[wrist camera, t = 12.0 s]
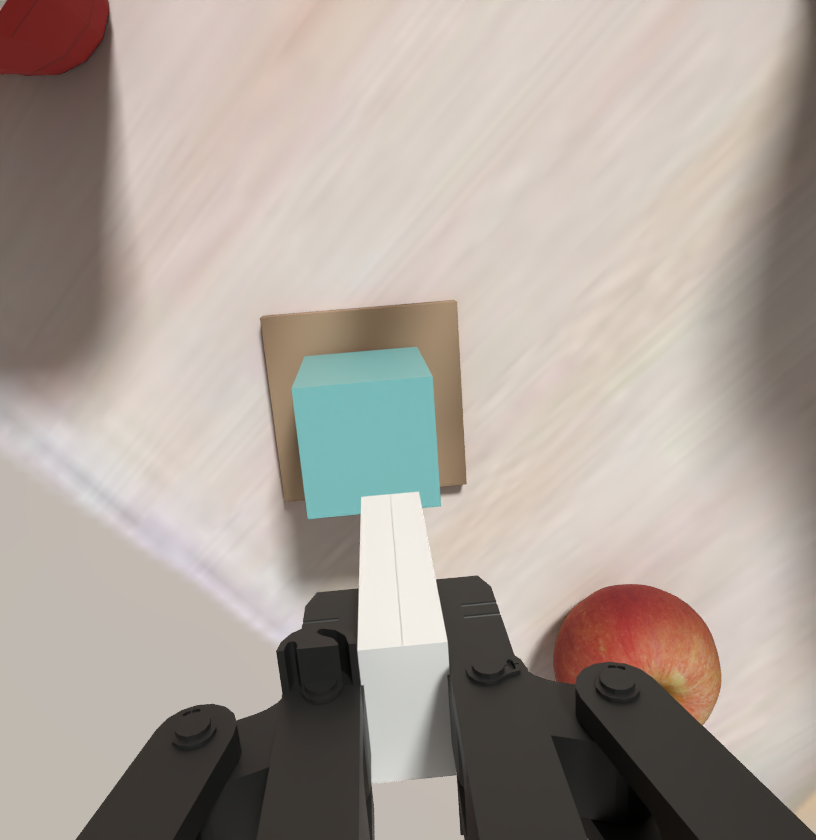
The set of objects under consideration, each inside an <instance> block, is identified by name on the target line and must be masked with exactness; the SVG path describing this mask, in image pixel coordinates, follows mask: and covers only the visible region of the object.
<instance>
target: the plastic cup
mask: <svg viewBox="0 0 816 840" xmlns="http://www.w3.org/2000/svg"><path fill="white" fill-rule="evenodd" d="M108 14H109V4H108V0H0V74H19V75H27V76H36V75H59V74H61V73H64V72H66V71H68V70H70V69H72V68H74V67H76V66H78V65H80V64H81V63H83V62H85V61H87V60H88V59H89V57H90V56H91V55H92V53H93V52H94V50H95V49H96V48H97V46H98V45H99V44H100V42H101V41H102V40H103V37H104V32H105V28H106V23H107V18H108Z"/></svg>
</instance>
